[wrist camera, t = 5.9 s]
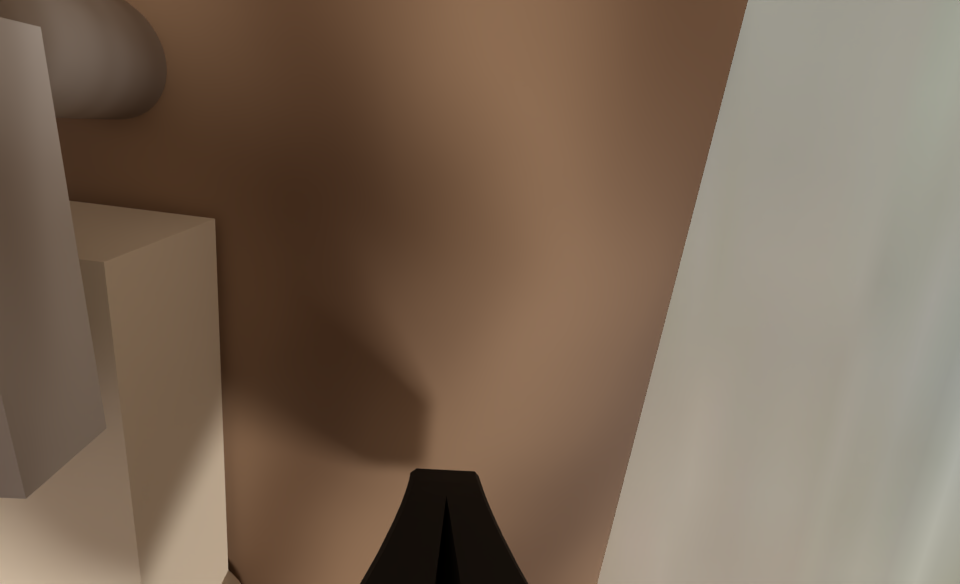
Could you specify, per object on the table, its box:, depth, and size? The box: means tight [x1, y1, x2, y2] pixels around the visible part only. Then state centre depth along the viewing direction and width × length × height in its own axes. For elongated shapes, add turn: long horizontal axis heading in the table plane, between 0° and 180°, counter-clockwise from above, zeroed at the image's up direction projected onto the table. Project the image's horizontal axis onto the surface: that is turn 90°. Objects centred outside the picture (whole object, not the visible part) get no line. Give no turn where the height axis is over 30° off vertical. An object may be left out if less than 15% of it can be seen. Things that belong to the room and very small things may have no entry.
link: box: [0, 201, 241, 584], centre depth 9 cm, size 12×4×4 cm, turn 172°
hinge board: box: [0, 0, 748, 584], centre depth 8 cm, size 16×18×6 cm
